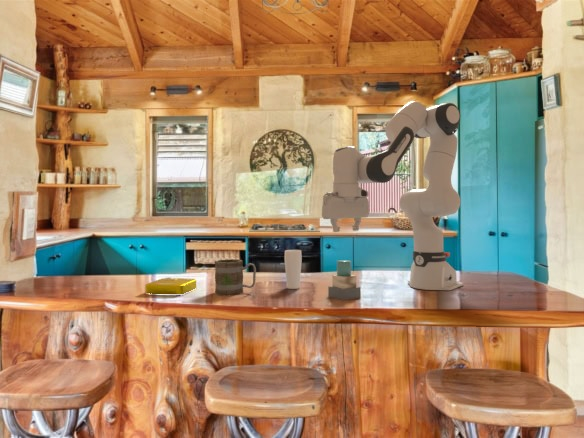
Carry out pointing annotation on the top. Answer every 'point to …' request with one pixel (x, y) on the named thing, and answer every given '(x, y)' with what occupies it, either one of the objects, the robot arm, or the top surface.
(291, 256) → the drinking glass
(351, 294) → the tower base
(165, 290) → the element tile
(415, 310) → the top surface
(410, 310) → the top surface
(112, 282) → the top surface
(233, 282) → the mug
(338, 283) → the tower top
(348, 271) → the teal cylinder
